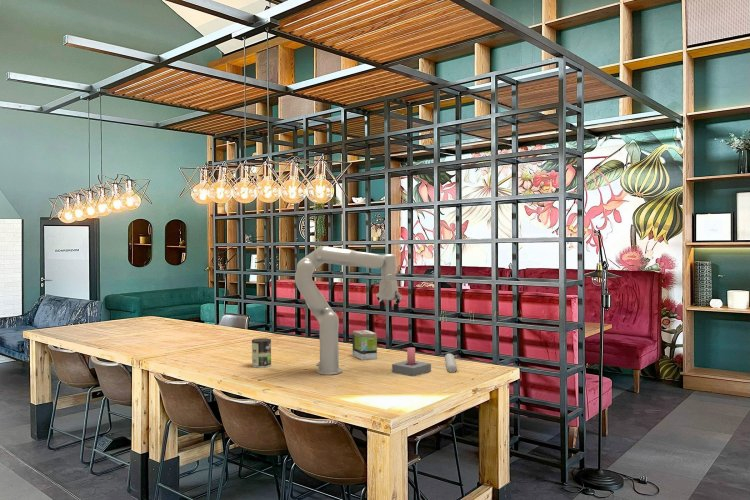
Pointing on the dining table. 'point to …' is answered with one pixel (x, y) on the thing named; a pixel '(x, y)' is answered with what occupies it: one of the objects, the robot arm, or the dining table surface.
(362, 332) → the tea box
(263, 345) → the coffee can
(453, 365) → the tube
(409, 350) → the peg
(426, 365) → the socket block
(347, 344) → the dining table surface
